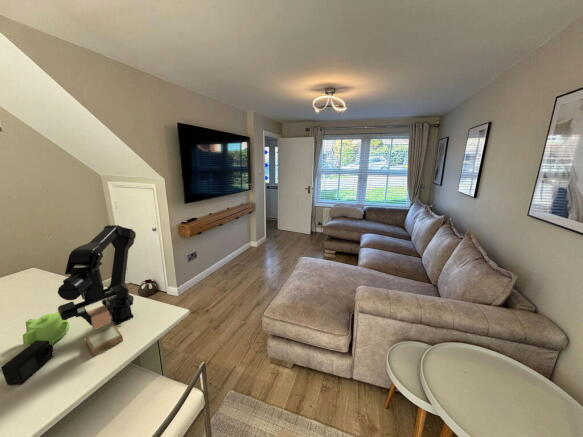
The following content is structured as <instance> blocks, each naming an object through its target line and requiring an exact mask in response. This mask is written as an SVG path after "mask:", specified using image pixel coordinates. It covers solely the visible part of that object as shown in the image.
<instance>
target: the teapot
mask: <svg viewBox="0 0 583 437" xmlns="http://www.w3.org/2000/svg"><path fill="white" fill-rule="evenodd" d="M70 326H71V324H70V322H69V320H68V319H67V320H62V319H61V317H60V315H59V312H58V311H57V312H56V313H46V314H45V315H42V316H40V317H39V318H36V319H32V318H29V319H27V320H26V321H25V328H26V331H25V333H23V334H22V345H23V346H30V345H31V344H32V343H34V342H35V341H49V344H50V345H52V346H54V345H55V342H56V341H58V340H60V339H61V338H62V337H65V336H66V335H67V332H68V331H69V329H70Z"/></svg>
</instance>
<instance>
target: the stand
mask: <svg viewBox="0 0 583 437" xmlns="http://www.w3.org/2000/svg"><path fill="white" fill-rule="evenodd" d="M115 325H116V324H115V323H114V324H111V325H110V326H107V327H104V328H102V329H101V330H98V331H96V332H94V333H92V334H90V335H87V336H84V340H85V341H84V342H85V345H86V346H87V347H88V349H89V351H90V352H91V355H92V356H93V357H95V356H96V355H98V354H100V353H102V352H104V351H106V350H108V349H110V348H112V347H114V346H116V345H117V344H120V343H121V342H123V341H124V338H123V337H124V336H123V334H122V333H121V332H120V331H119V329H118V328H117V327H116V326H115Z"/></svg>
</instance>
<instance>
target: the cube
mask: <svg viewBox="0 0 583 437" xmlns="http://www.w3.org/2000/svg"><path fill="white" fill-rule="evenodd" d="M87 313H88V315H89V317H90V319H91V322H92V325H90V326H91V327H92V329H93V330H98V329H99V328H101V327H103V326H104V327H105V326H106V325H109V324H110V323H112V320H111V318H110V314H109V310H108V309H107V308H106V307H105V305H103V304H102V305H100V306H98V307H95V308H93V309H91V310H88V311H87Z"/></svg>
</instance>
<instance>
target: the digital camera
mask: <svg viewBox="0 0 583 437" xmlns="http://www.w3.org/2000/svg"><path fill="white" fill-rule="evenodd" d="M54 350H55V349H54V345H50V344H49V341H35V342H34V343H32V344H31V345H27V347H26V348H24V349H23V350H22V351H20V352H18V354H16V355H14V357H12V358H11V359H10V360H8V361H7V362H6V363H4V364H3V365H2V366H1V367H0V370H1V372H2V375H3V378H4V379H5V382H6V385H8V386H23V385H24V384H25V383H26V382H27V381H28V380H30V378H31V377H33V376H34V375H35V374H36V373H37V372H38V371H40V370H41V369H42V368H43V367H44V366H45V365H46V364H48V363H49V361H51V360H52V359H53V358H54V355H53V352H54Z"/></svg>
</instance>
